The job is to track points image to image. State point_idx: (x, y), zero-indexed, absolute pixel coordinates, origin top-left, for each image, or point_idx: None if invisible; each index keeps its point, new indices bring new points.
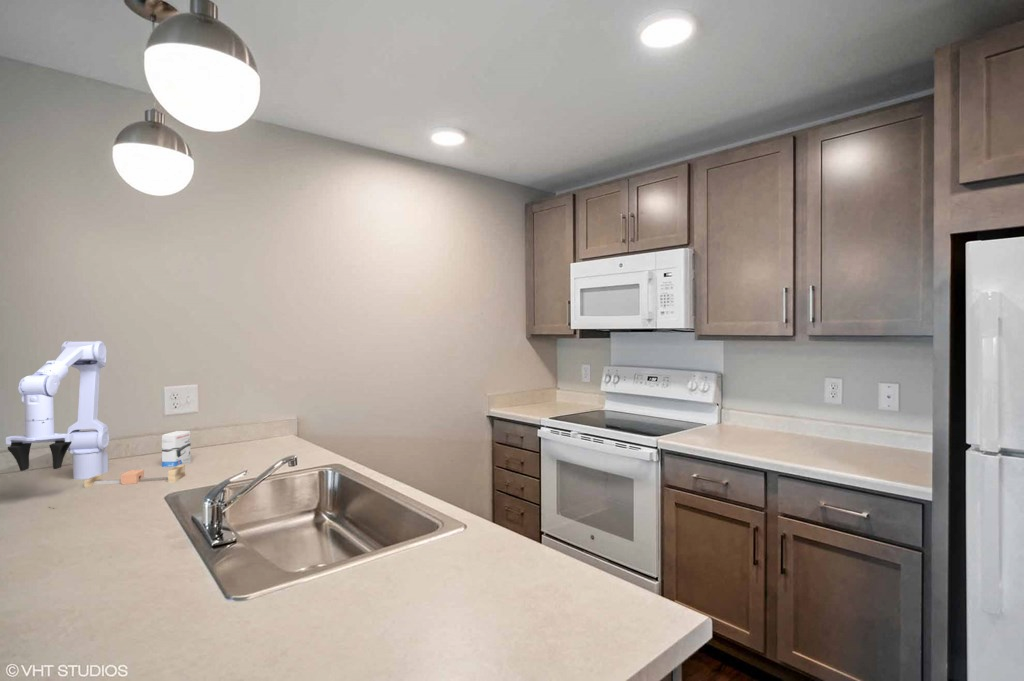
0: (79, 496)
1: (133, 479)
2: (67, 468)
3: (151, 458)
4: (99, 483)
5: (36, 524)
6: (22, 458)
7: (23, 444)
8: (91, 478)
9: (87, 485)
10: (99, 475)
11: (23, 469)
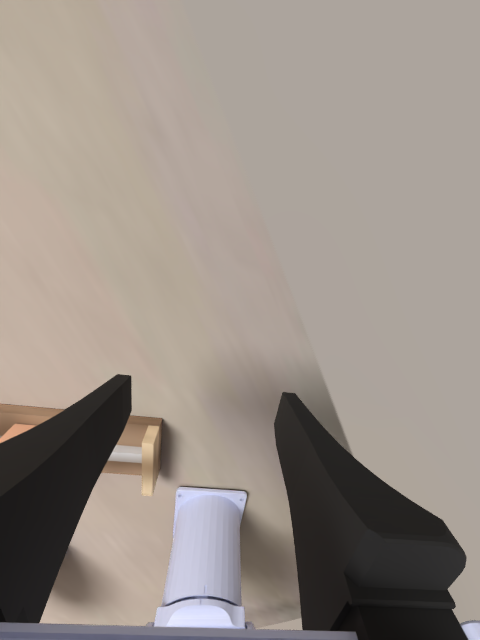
0: (148, 374)
1: (13, 435)
2: (296, 583)
3: (147, 608)
4: (132, 448)
5: (107, 50)
6: (304, 457)
7: (340, 611)
8: (146, 463)
9: (148, 430)
10: (142, 486)
11: (283, 398)
